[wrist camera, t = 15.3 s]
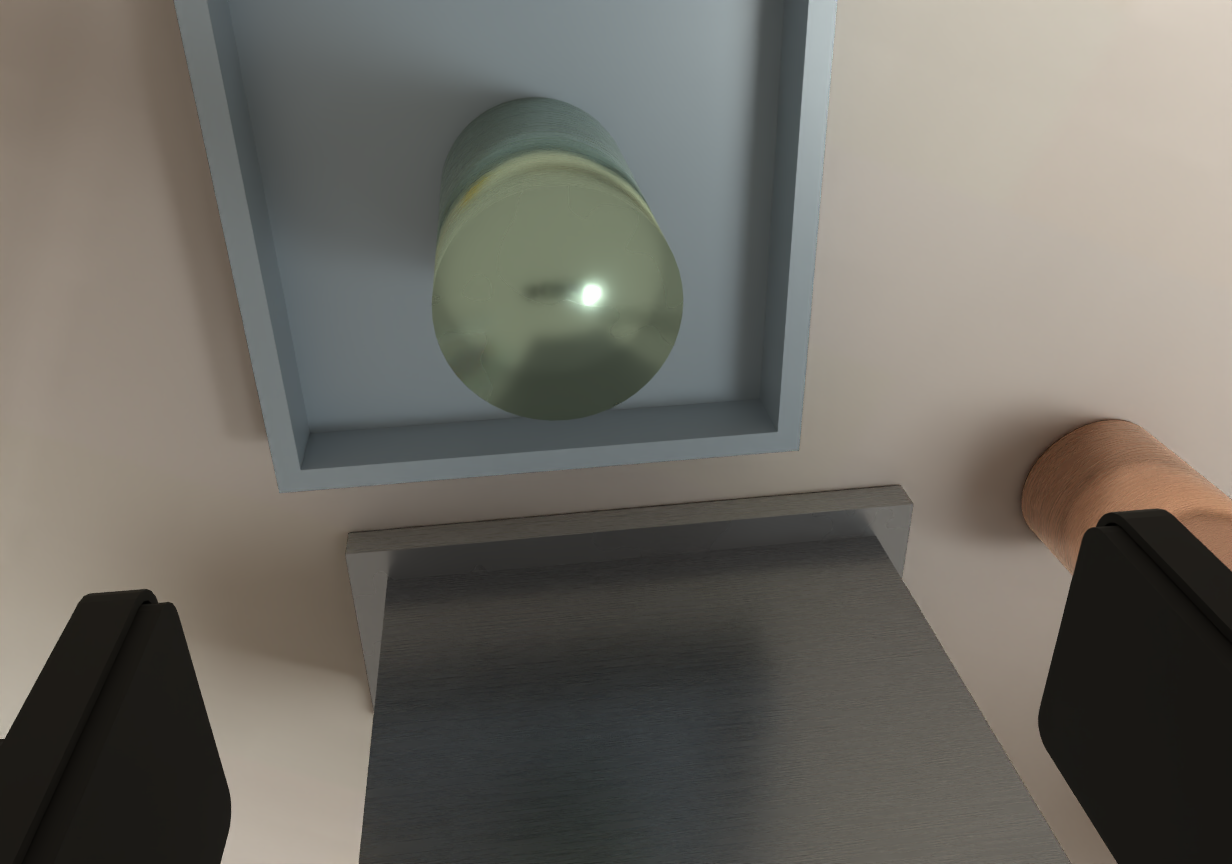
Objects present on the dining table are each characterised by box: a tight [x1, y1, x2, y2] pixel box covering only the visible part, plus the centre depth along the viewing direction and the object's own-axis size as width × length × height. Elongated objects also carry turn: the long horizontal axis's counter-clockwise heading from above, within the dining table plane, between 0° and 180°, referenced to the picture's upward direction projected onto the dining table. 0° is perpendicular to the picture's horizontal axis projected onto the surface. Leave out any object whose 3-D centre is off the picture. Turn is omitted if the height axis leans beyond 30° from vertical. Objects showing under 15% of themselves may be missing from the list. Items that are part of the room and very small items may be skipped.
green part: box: [432, 97, 683, 421], centre depth 21 cm, size 4×4×7 cm
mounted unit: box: [345, 485, 1071, 864], centre depth 24 cm, size 16×7×16 cm, turn 91°
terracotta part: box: [1021, 420, 1232, 575], centre depth 28 cm, size 4×4×7 cm
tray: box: [174, 0, 837, 493], centre depth 24 cm, size 13×13×2 cm
